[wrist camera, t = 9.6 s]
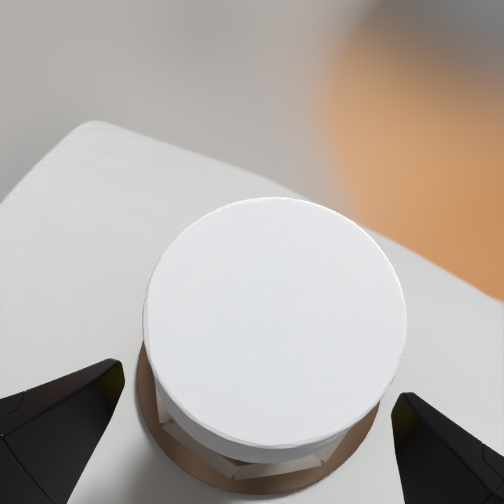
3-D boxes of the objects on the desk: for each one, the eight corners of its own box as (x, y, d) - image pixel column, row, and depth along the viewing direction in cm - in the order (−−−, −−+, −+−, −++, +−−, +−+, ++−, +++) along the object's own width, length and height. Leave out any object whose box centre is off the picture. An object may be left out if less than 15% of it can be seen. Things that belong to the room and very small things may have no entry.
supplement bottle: (190, 418, 15) (47, 427, 3) (217, 314, 18) (161, 147, 7) (306, 440, 14) (428, 504, 3) (325, 334, 17) (434, 194, 6)
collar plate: (157, 496, 12) (135, 513, 9) (138, 281, 20) (117, 254, 17) (395, 456, 13) (424, 463, 10) (346, 252, 21) (361, 222, 18)
